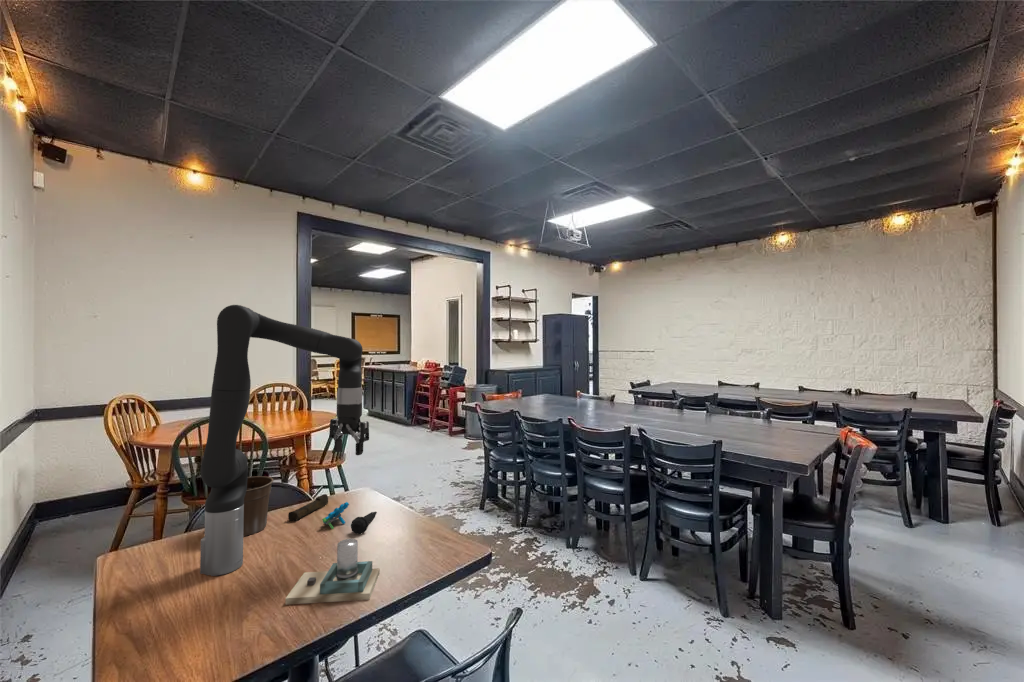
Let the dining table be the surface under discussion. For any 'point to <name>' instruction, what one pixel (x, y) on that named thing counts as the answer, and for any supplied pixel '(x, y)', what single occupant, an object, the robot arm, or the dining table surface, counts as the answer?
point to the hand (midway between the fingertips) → (348, 453)
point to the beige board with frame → (334, 586)
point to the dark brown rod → (308, 508)
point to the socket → (347, 560)
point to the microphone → (362, 523)
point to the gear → (335, 515)
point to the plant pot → (256, 504)
